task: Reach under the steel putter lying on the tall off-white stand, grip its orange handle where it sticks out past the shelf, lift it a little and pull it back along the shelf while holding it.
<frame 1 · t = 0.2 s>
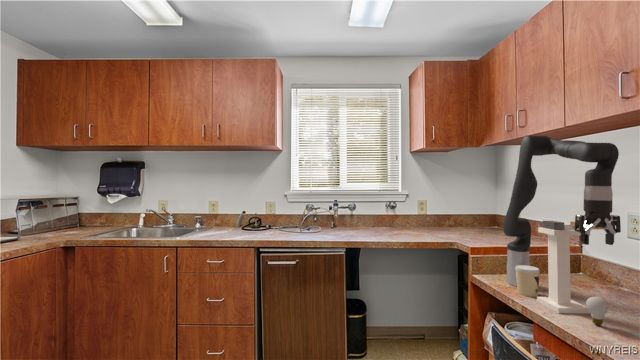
hand: (597, 244, 106), 29 cm above the worktop, tool pointing down, fingers open, 8 cm apart
putter: (575, 228, 123), point 32 cm above the worktop, touching putter stand
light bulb: (597, 325, 107), on the worktop
putter stand: (564, 307, 123), on the worktop
coffee cup: (527, 294, 138), on the worktop
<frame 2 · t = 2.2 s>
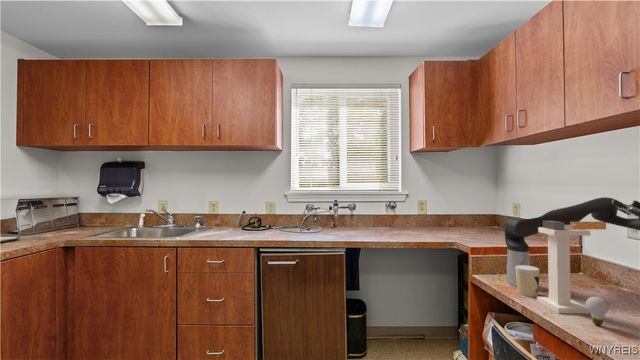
hand: (622, 201, 122), 43 cm above the worktop, tool pointing upward, fingers open, 8 cm apart
nothing on the worktop moved.
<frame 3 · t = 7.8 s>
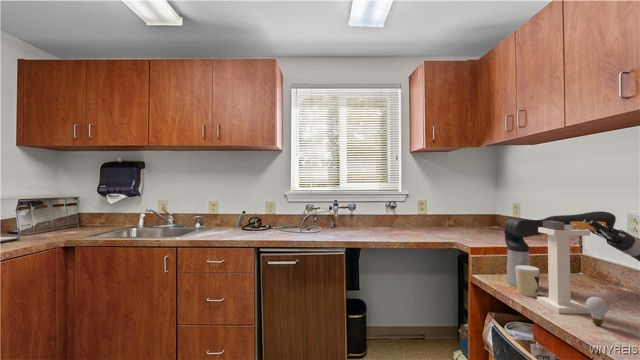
hand: (587, 221, 123), 35 cm above the worktop, tool pointing upward, fingers closed on putter, 2 cm apart
putter: (575, 228, 123), point 32 cm above the worktop, touching gripper, putter stand
everything else where it was.
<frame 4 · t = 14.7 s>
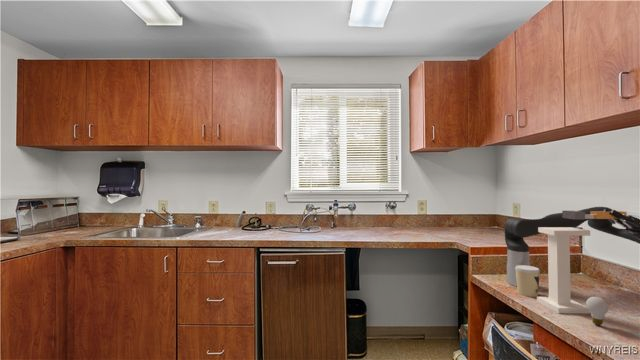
hand: (608, 211, 123), 39 cm above the worktop, tool pointing upward, fingers closed on putter, 2 cm apart
putter: (595, 218, 123), point 36 cm above the worktop, touching gripper
everything else where it was.
at the end: the gripper is holding putter; putter moved 9.3 cm from its start; putter point 36.3 cm above the worktop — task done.
